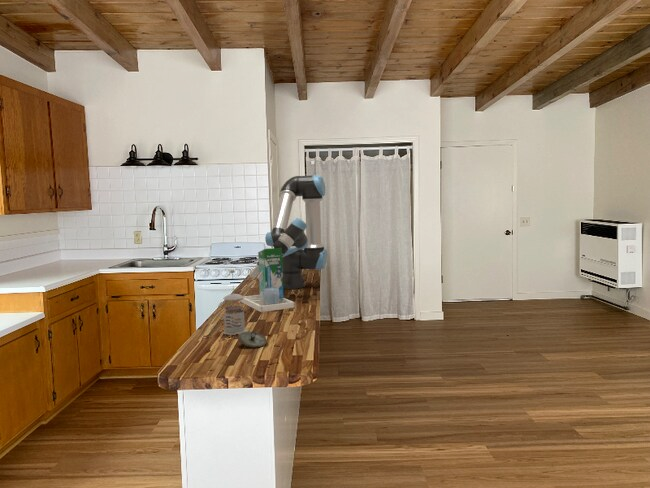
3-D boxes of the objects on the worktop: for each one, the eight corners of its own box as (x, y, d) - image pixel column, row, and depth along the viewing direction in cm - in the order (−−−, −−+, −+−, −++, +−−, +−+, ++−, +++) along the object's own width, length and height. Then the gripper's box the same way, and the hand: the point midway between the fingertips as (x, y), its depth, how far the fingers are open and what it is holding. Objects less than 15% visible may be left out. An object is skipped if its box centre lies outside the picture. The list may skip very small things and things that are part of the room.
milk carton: (276, 295, 265) (275, 246, 263) (283, 298, 257) (281, 247, 255) (259, 297, 261) (257, 247, 259) (266, 300, 253) (264, 248, 251)
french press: (242, 335, 204) (239, 271, 202) (214, 334, 206) (211, 271, 204) (250, 328, 213) (248, 267, 211) (224, 328, 216) (221, 267, 213)
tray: (240, 303, 264) (240, 296, 264) (272, 299, 272) (272, 293, 272) (260, 314, 240) (260, 306, 239) (294, 309, 247) (294, 302, 247)
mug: (262, 306, 251) (261, 288, 250) (276, 304, 254) (275, 286, 253) (269, 310, 243) (269, 290, 242) (283, 308, 246) (283, 289, 245)
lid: (253, 339, 198) (252, 326, 197) (272, 343, 192) (272, 330, 191) (232, 346, 189) (231, 332, 189) (252, 350, 183) (251, 336, 183)
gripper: (269, 237, 274) (242, 270, 268) (287, 240, 254) (257, 275, 248) (279, 247, 277) (252, 279, 271) (297, 250, 257) (268, 285, 251)
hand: (255, 277), depth 259 cm, fingers open, 10 cm apart
